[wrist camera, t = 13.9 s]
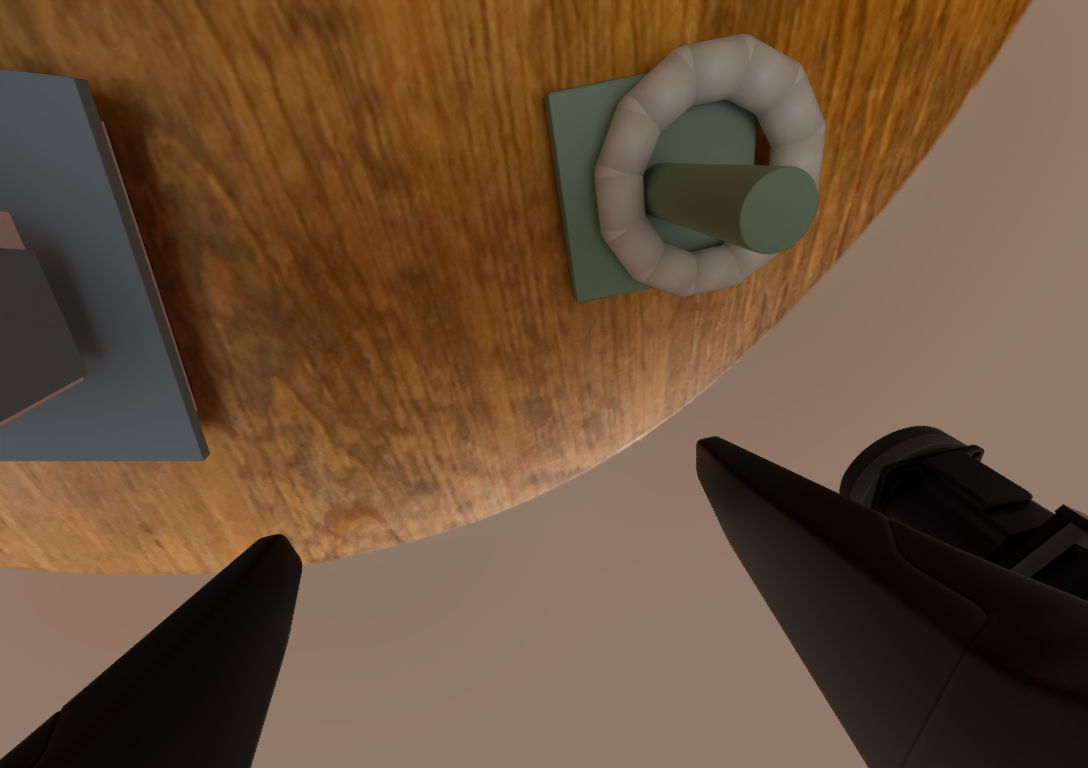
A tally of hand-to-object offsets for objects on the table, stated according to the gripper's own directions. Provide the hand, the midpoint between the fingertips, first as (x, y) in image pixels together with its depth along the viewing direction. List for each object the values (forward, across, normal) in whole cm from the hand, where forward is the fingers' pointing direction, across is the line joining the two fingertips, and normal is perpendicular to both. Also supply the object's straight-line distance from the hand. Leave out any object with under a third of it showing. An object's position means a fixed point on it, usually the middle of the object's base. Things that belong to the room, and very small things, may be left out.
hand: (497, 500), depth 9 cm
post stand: (+12, -8, -4) cm, 15 cm away
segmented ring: (+10, -10, -4) cm, 15 cm away
